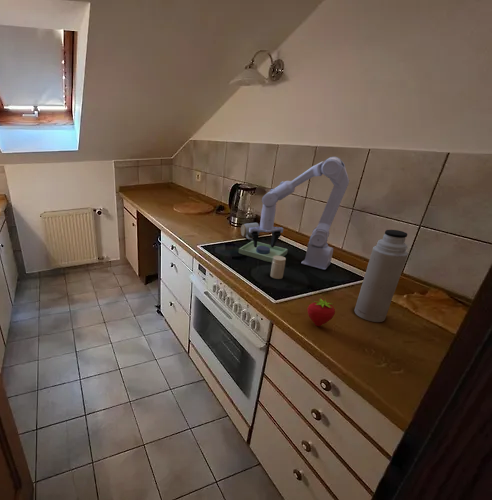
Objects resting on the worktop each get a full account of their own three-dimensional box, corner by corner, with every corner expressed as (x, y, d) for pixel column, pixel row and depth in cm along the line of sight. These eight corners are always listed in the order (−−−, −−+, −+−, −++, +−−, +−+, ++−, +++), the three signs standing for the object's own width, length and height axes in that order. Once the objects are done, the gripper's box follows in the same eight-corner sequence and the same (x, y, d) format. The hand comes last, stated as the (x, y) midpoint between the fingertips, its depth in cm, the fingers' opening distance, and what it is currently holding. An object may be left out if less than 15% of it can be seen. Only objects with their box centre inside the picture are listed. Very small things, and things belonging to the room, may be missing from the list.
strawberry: (300, 320, 93) (305, 292, 89) (323, 319, 93) (330, 291, 89) (310, 332, 88) (317, 303, 84) (335, 331, 88) (343, 302, 84)
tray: (287, 253, 139) (288, 249, 138) (274, 263, 130) (275, 258, 129) (252, 244, 151) (252, 240, 150) (238, 253, 142) (238, 248, 141)
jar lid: (267, 249, 143) (267, 245, 142) (271, 254, 137) (271, 250, 137) (254, 249, 143) (255, 245, 142) (258, 254, 138) (258, 250, 137)
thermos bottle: (348, 307, 98) (371, 227, 87) (372, 306, 98) (398, 226, 87) (366, 322, 91) (393, 237, 80) (391, 321, 91) (422, 236, 80)
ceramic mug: (239, 234, 164) (240, 221, 161) (253, 233, 165) (255, 220, 162) (246, 241, 155) (248, 227, 152) (261, 241, 155) (263, 227, 152)
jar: (284, 275, 120) (287, 257, 117) (280, 280, 117) (284, 261, 113) (272, 272, 123) (275, 254, 120) (268, 276, 119) (271, 258, 116)
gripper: (253, 221, 131) (249, 250, 136) (287, 221, 130) (282, 250, 135) (249, 216, 137) (246, 244, 142) (281, 216, 136) (277, 244, 141)
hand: (263, 246), depth 139 cm, fingers open, 7 cm apart
